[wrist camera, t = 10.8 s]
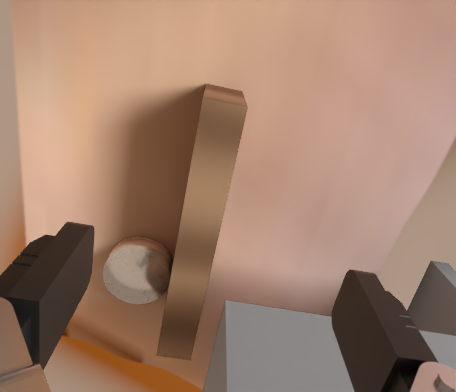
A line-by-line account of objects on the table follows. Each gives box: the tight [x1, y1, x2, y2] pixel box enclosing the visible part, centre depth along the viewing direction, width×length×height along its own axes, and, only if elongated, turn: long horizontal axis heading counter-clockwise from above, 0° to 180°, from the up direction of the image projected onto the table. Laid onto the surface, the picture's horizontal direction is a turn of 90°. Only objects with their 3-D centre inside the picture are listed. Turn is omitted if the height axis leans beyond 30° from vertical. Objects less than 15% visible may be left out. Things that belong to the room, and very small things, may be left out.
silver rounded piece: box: [102, 237, 172, 304], centre depth 30 cm, size 5×5×2 cm
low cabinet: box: [203, 261, 456, 392], centre depth 26 cm, size 10×18×15 cm, turn 78°
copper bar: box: [157, 84, 248, 360], centre depth 27 cm, size 18×2×6 cm, turn 168°
